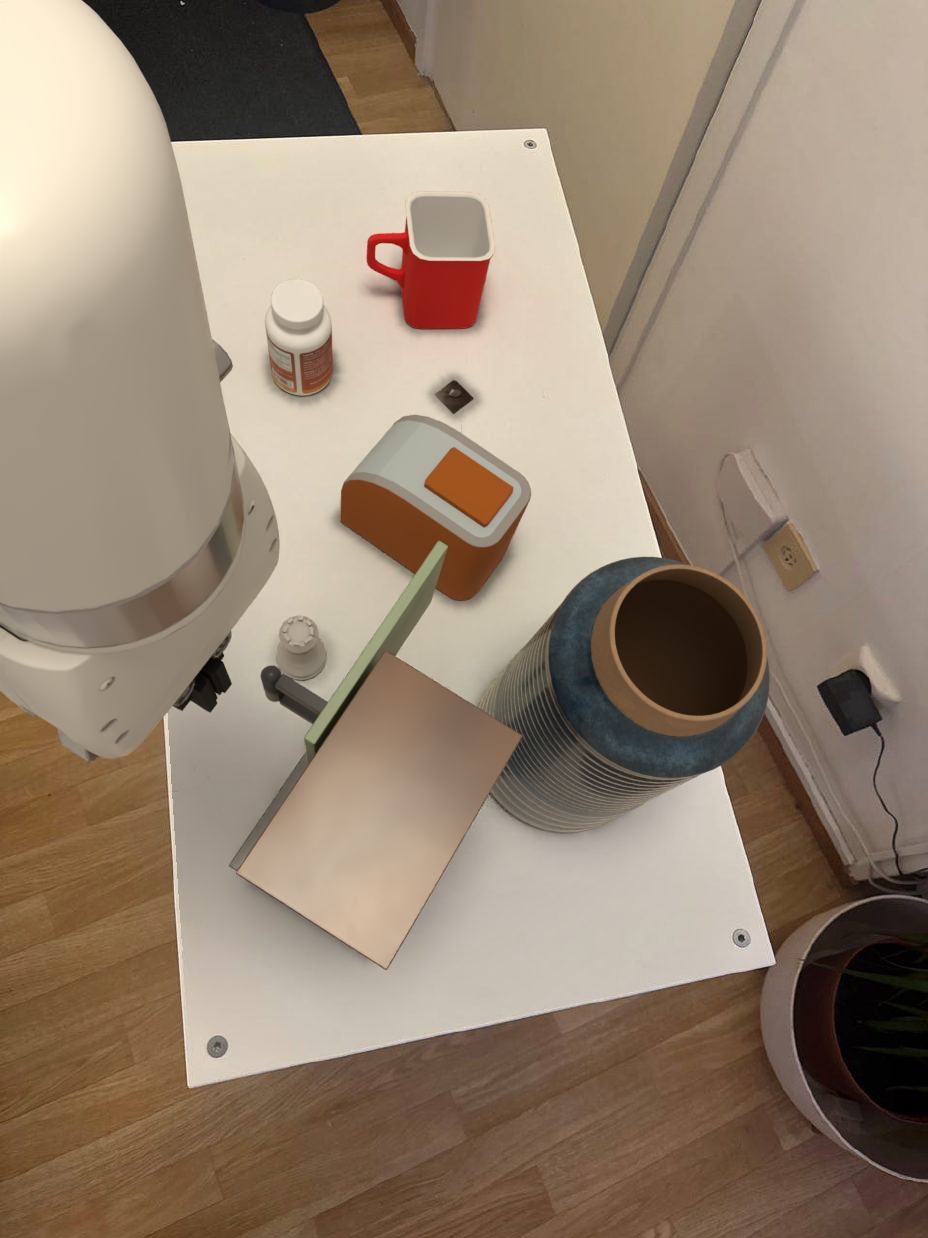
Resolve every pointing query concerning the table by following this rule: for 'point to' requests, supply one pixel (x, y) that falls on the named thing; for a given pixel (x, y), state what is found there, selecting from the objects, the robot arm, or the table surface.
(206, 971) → the table surface
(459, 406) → the small square plate
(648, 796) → the vase
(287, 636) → the rook chess piece
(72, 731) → the robot arm
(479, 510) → the alarm clock
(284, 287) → the pill bottle
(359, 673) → the door
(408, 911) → the cabinet
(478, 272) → the mug
